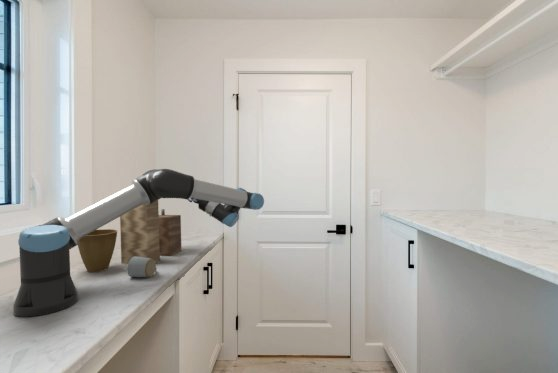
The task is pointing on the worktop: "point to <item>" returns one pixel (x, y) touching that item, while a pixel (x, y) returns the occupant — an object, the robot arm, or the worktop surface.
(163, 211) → the wooden block with pegs
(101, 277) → the worktop surface
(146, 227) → the stand
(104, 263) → the plant pot
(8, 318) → the worktop surface
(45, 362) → the worktop surface
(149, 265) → the grey short cylinder
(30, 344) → the worktop surface
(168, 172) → the robot arm
